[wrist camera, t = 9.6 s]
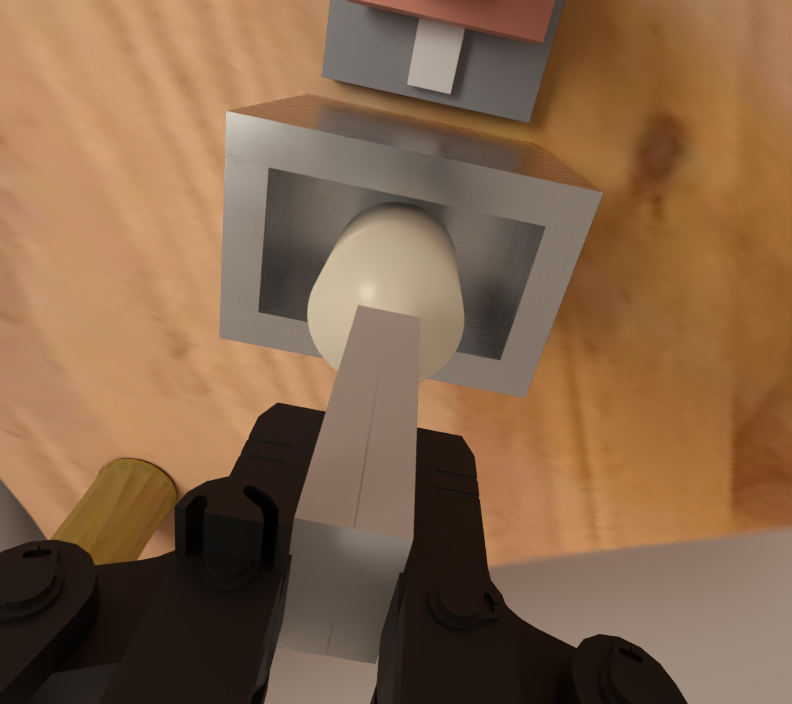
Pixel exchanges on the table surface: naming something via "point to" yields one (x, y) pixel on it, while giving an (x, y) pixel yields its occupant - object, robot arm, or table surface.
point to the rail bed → (436, 60)
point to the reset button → (391, 282)
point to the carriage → (479, 15)
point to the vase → (119, 511)
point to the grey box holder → (398, 182)
